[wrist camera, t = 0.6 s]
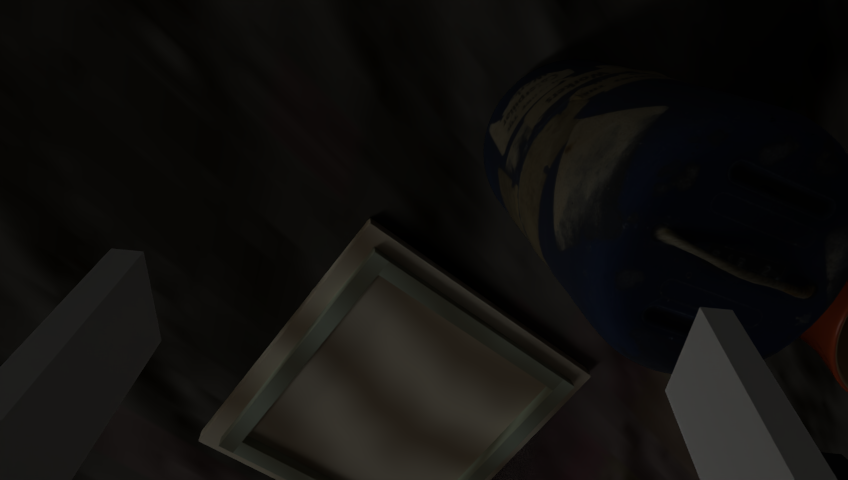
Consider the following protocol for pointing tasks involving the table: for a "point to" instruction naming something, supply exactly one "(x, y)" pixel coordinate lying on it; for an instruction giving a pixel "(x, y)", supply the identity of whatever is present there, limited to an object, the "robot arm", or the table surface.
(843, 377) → the mug
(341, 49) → the table surface
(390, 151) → the table surface
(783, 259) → the canister
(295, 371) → the square tray
